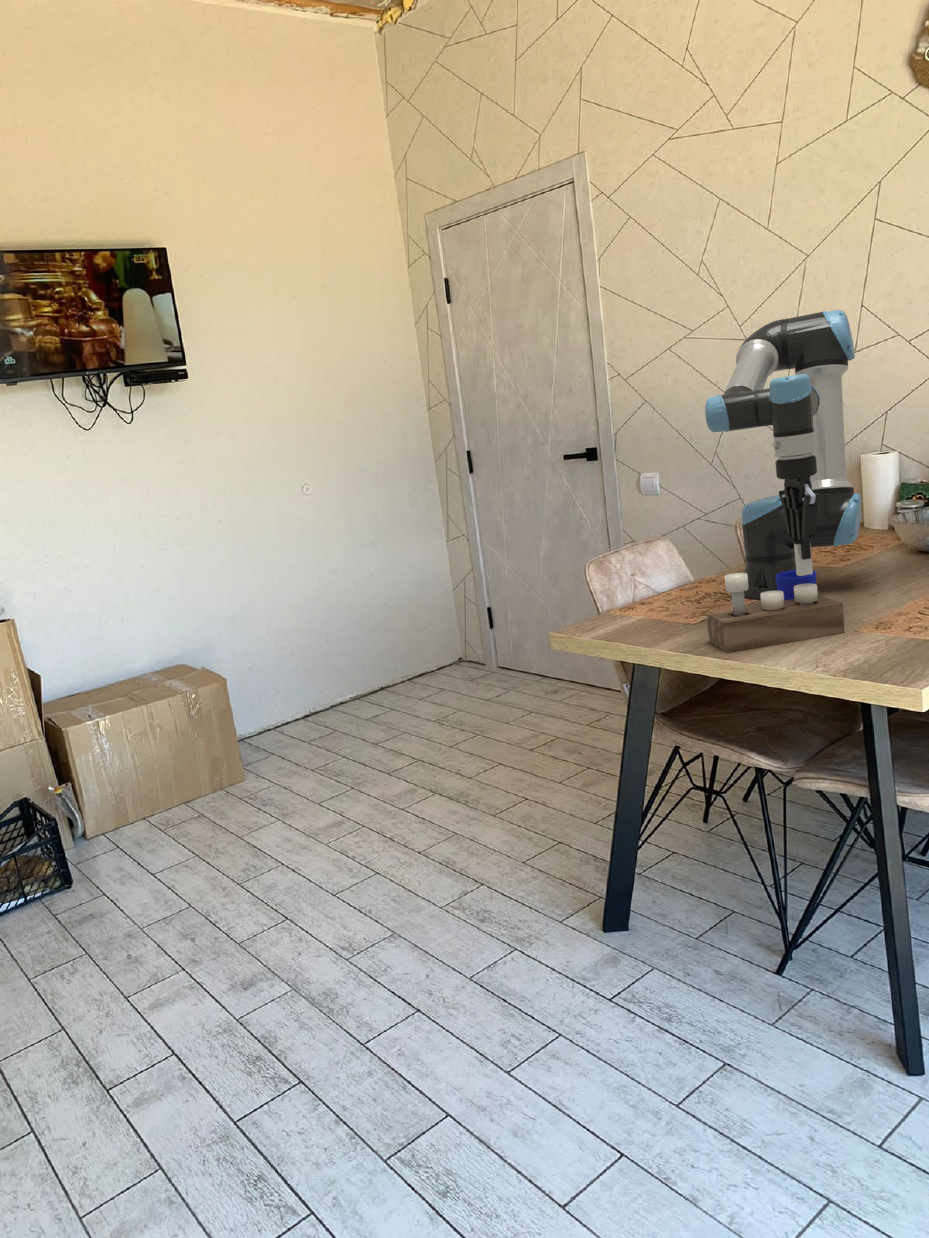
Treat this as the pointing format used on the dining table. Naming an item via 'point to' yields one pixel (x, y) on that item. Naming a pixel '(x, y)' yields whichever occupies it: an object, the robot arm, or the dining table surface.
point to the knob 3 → (805, 593)
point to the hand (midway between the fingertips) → (804, 574)
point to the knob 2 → (772, 600)
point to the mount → (775, 624)
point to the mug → (792, 582)
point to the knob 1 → (737, 591)
